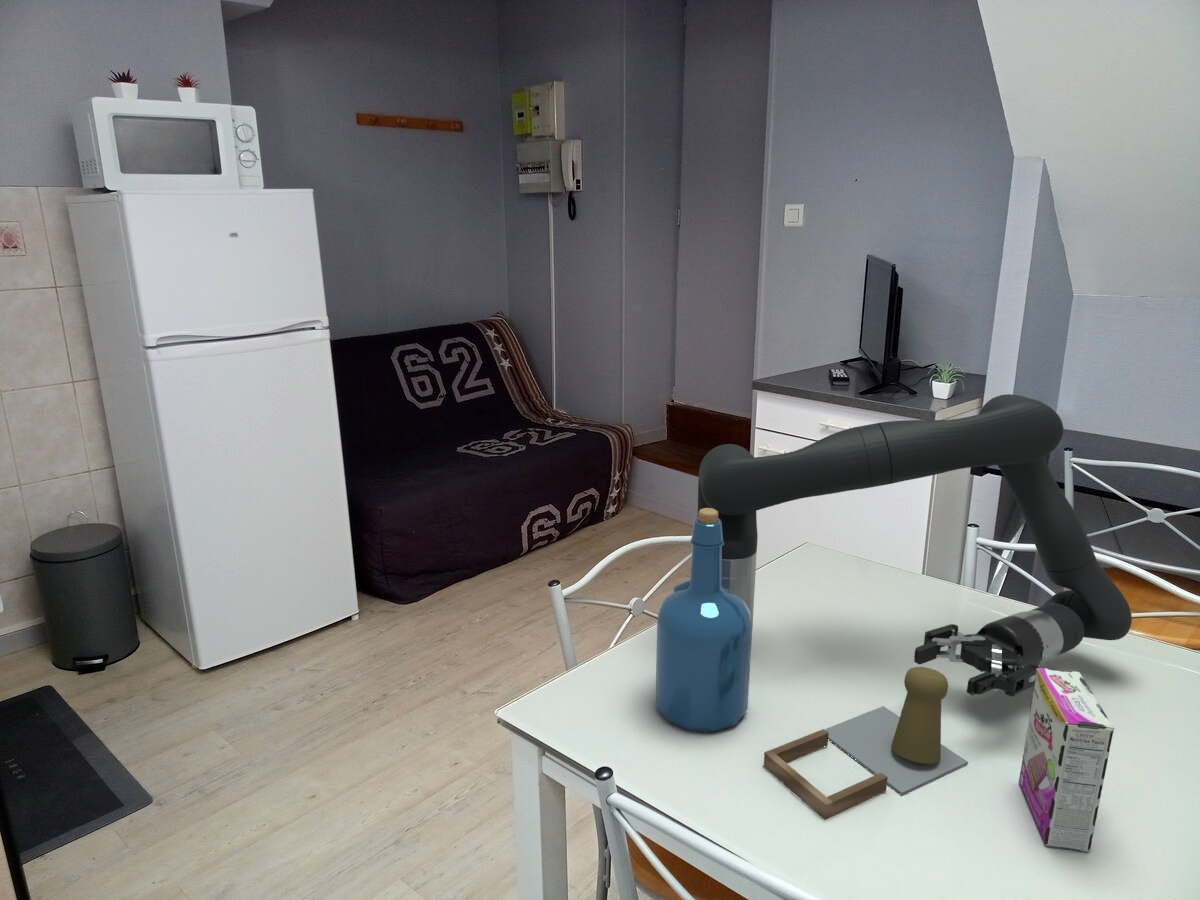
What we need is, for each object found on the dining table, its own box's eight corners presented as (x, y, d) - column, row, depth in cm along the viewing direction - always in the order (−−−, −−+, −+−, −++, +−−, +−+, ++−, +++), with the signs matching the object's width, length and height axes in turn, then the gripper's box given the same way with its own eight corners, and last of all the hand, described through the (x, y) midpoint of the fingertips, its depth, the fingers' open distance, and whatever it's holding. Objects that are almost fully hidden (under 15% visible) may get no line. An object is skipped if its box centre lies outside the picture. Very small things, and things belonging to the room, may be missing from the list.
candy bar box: (1014, 782, 102) (1034, 665, 98) (1058, 787, 101) (1081, 670, 97) (1042, 848, 92) (1066, 721, 87) (1091, 855, 91) (1118, 727, 86)
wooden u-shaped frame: (763, 765, 105) (764, 752, 105) (822, 741, 110) (823, 728, 109) (824, 819, 96) (826, 805, 96) (886, 791, 101) (887, 777, 100)
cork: (898, 736, 110) (910, 657, 109) (945, 752, 107) (958, 671, 106) (885, 751, 106) (897, 669, 104) (934, 768, 102) (947, 684, 101)
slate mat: (819, 733, 112) (820, 731, 112) (883, 708, 117) (883, 705, 117) (901, 795, 100) (901, 792, 100) (967, 764, 106) (968, 761, 105)
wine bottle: (761, 731, 112) (774, 525, 104) (666, 741, 110) (671, 532, 102) (729, 676, 125) (739, 490, 117) (644, 684, 123) (647, 495, 115)
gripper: (980, 597, 122) (902, 624, 115) (1072, 640, 110) (993, 672, 103) (973, 642, 124) (897, 671, 117) (1064, 689, 112) (985, 724, 105)
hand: (942, 672), depth 110 cm, fingers open, 8 cm apart
